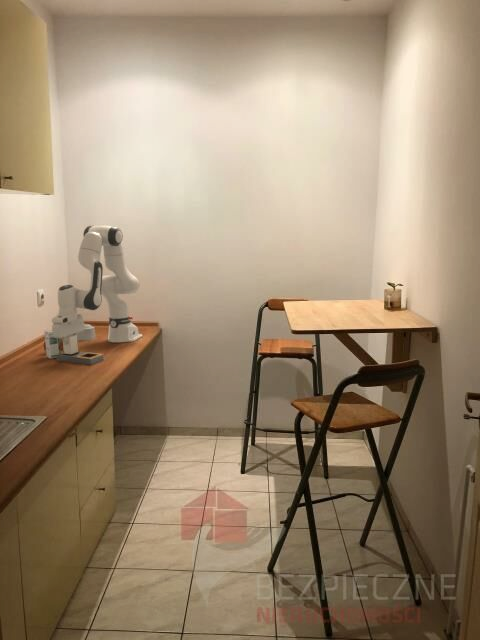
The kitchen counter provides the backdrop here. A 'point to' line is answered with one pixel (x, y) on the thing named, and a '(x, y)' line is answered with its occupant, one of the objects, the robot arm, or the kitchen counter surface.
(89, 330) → the lumpy-topped squat cylinder
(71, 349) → the square peg
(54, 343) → the syrup box
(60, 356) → the socket rail
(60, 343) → the tin
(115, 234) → the robot arm
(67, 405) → the kitchen counter surface
